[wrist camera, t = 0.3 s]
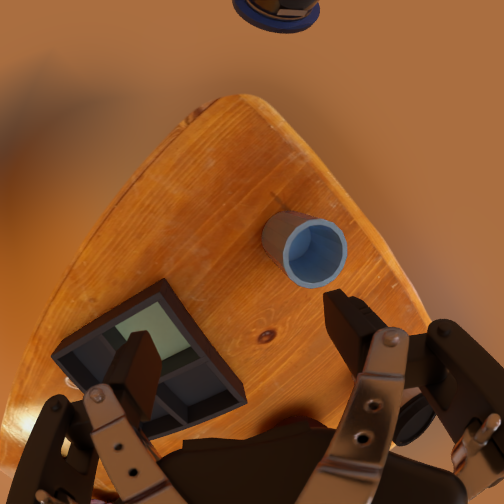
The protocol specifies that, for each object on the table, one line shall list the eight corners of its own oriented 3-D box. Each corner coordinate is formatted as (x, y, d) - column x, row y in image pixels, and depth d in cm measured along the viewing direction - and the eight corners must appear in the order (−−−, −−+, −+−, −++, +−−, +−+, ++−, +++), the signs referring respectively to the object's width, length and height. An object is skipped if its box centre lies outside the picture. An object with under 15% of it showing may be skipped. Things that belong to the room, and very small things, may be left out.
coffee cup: (338, 390, 38) (383, 455, 23) (354, 348, 36) (413, 411, 22) (377, 384, 40) (424, 437, 25) (394, 344, 38) (452, 394, 24)
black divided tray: (62, 340, 28) (50, 356, 24) (164, 277, 29) (159, 291, 25) (143, 424, 33) (140, 443, 29) (242, 383, 34) (247, 403, 30)
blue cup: (251, 227, 29) (270, 241, 21) (299, 201, 29) (332, 206, 22) (276, 273, 31) (300, 300, 23) (320, 246, 31) (355, 265, 23)
